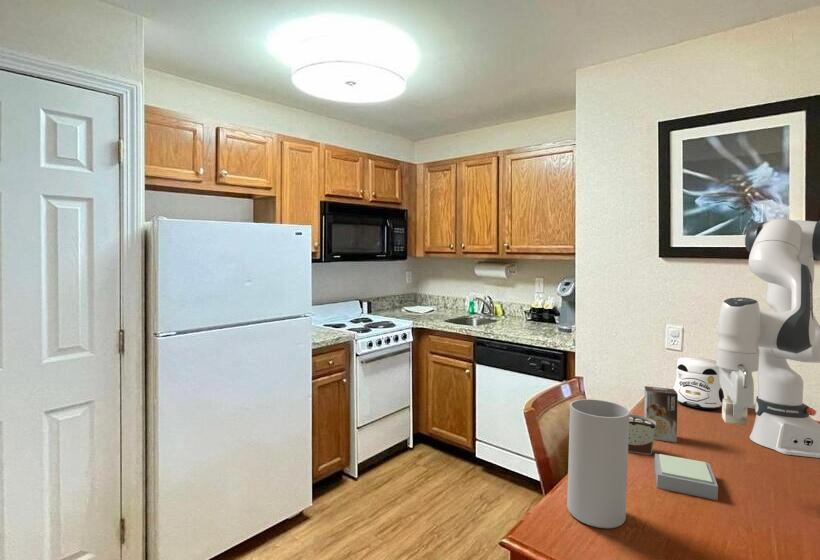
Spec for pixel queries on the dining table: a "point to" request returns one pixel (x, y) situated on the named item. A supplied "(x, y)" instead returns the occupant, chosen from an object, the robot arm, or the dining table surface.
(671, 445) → the dining table surface
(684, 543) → the dining table surface
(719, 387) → the milk container
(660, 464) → the base
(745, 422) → the cream block
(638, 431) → the food container
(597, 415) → the cylinder vase
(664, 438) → the coffee box
